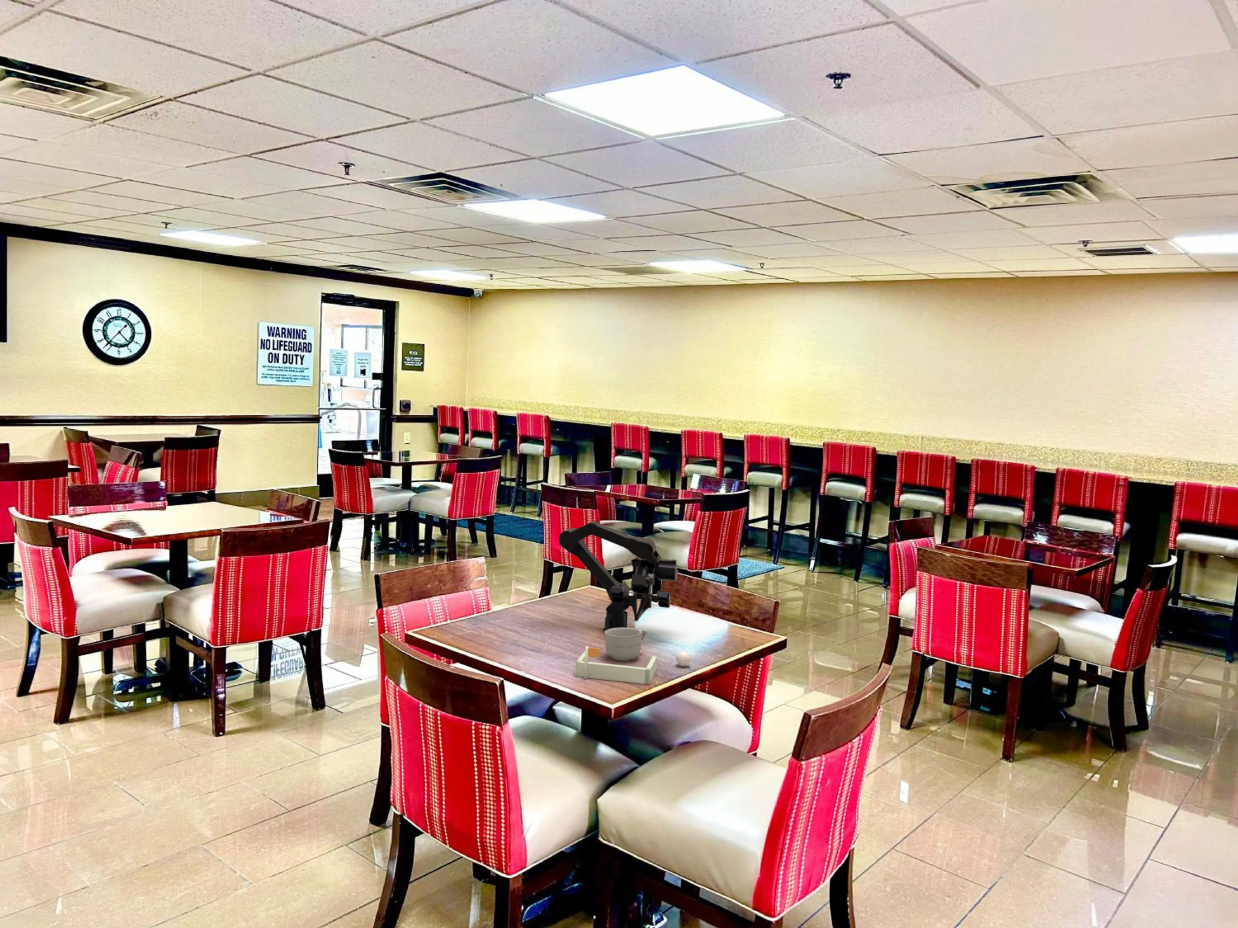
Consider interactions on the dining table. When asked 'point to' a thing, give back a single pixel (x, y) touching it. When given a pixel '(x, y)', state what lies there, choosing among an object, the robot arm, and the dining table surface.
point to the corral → (613, 669)
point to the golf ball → (683, 658)
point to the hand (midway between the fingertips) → (636, 620)
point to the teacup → (624, 642)
